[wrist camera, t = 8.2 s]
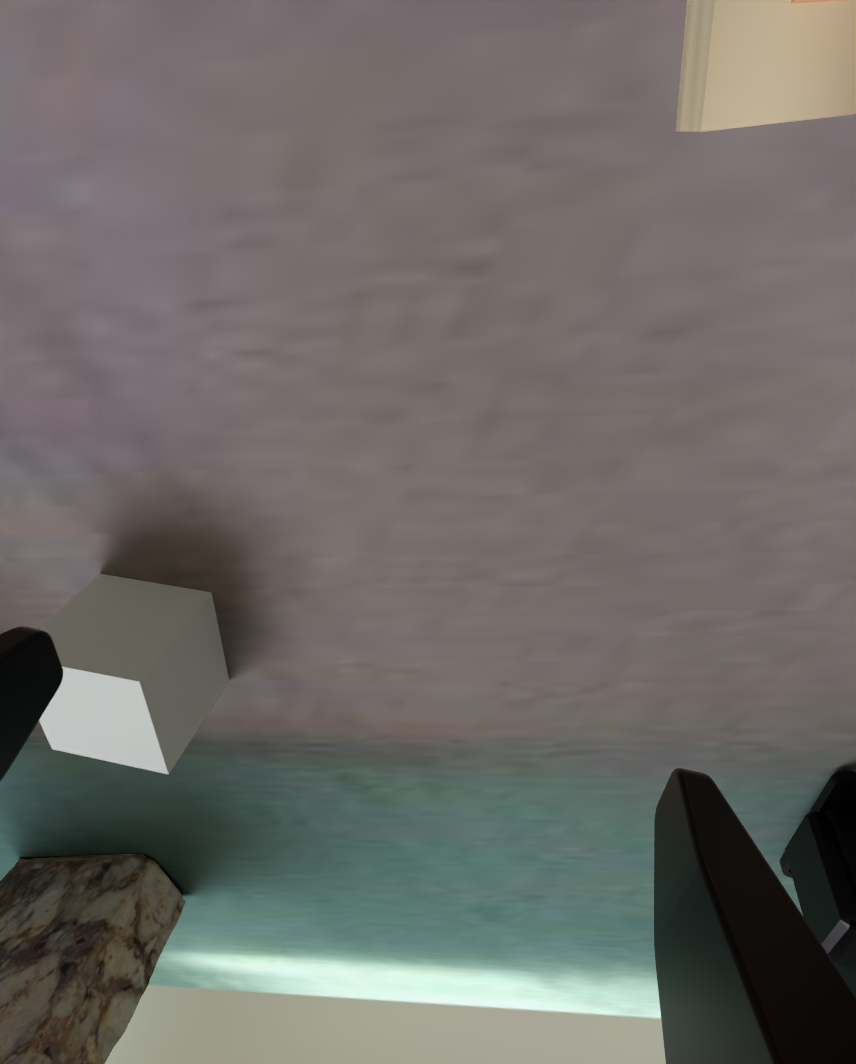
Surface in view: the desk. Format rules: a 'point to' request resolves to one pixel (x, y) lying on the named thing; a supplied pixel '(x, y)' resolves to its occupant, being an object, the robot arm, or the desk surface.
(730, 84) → the birch block
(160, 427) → the desk surface
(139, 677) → the light grey cube
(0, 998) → the stone block
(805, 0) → the tan cube
